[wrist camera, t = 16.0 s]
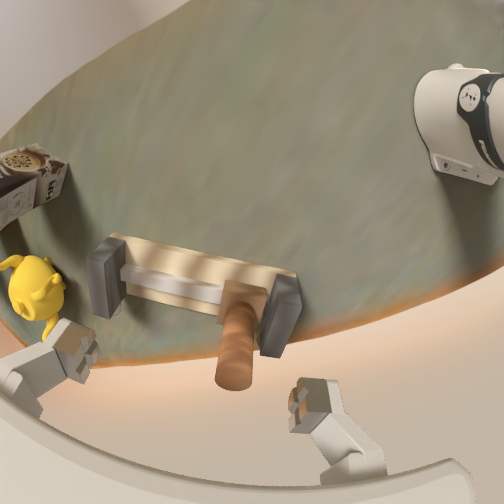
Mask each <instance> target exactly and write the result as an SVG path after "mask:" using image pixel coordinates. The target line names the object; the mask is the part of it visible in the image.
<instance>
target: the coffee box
mask: <svg viewBox="0 0 504 504" xmlns="http://www.w3.org/2000/svg"><path fill="white" fill-rule="evenodd" d="M67 167H68V163H67V162H66V161H64V160H63V159H61V158H59V157H58V156H56V155H55V154H53V153H52V152H50V151H48V150H47V149H45V148H44V147H42V146H41V145H39V144H38V143H35V144H32V145H28V146H24V147H20V148H17V149H14V150H10V151H7V152H4V153H1V154H0V228H2V227H3V226H5V225H7V224H8V223H10V222H11V221H13V220H15V219H16V218H18V217H20V216H22V215H23V214H25V213H27V212H29V211H31V210H32V209H34V208H36V207H38V206H40V205H41V204H43V203H45V202H47V201H49V200H51V199H53V198H55V197H57V196H59V195H60V191H61V188H62V184H63V181H64V177H65V174H66V171H67Z"/></svg>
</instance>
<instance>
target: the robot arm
mask: <svg viewBox="0 0 504 504" xmlns="http://www.w3.org/2000/svg"><path fill="white" fill-rule="evenodd" d="M414 113H415V119H416V123H417V126H418V129H419V132H420V134H421V136H422V138H423V140H424V142H425V143H426V145H427V147H428V149H429V153H430V158H431V163H432V166H433V168H434V169H435V170H436V171H439V172H443V173H447V174H451V175H455V176H459V177H462V178H466V179H470V180H473V181H477V182H480V183H483V184H487V185H493V184H494V183H495V182H496V180H497V179H498V177H501V178H503V179H504V74H501V73H489V71H487V70H485V69H469V68H464V67H463V66H462V65H461V64H452V65H451V66H449V67H448V68H447V69H444V70H434V71H431V72H429V73H427V74H426V75H425V76H424V77H423V78H422V79H421V80H420V82H419V84H418V86H417V89H416V92H415V97H414ZM444 164H445V167H444ZM95 337H96V334H95V331H94V330H92V329H89V328H87V327H84V326H82V325H80V324H77V323H75V322H73V321H70V320H68V319H65V318H62V319H61V320H60V321H59V322H58V323H57V324H56V326H55V327H54V328H53V330H52V331H51V332H50V334H49V335H48V336H47V338H46V339H45V340H44V342H43V343H41V342H39V343H36V344H34V345H32V346H29V347H27V348H25V349H22V350H20V351H18V352H16V353H13V354H11V355H9V356H6V357H4V358H2V359H0V504H478V501H477V496H476V490H475V485H474V481H473V478H472V476H471V474H470V472H469V471H467V469H466V468H464V467H463V466H462V465H461V464H460V463H459V462H457V461H456V460H454V459H452V458H448V459H444V460H441V461H439V462H436V463H433V464H430V465H426V466H423V467H420V468H416V469H413V470H409V471H405V472H402V473H398V474H393V475H389V476H388V475H387V469H386V464H385V460H384V456H383V451H382V449H381V448H380V447H379V446H378V445H377V443H375V441H374V440H373V439H372V438H371V437H370V436H369V435H368V434H367V433H366V432H365V431H364V430H363V429H362V428H361V427H360V426H359V425H358V424H357V422H355V420H354V419H353V418H352V417H351V416H350V415H349V414H348V413H345V411H344V407H343V402H342V397H341V393H340V388H339V384H338V382H337V381H336V380H324V379H314V378H302V377H301V378H299V380H298V381H297V387H295V388H293V389H292V391H291V393H290V396H289V401H288V410H289V411H290V412H291V413H292V415H291V417H290V418H289V429H290V433H305V434H309V435H310V437H311V438H312V439H313V441H314V442H315V444H316V445H317V447H318V448H319V450H320V451H321V453H322V454H323V456H324V457H325V458H326V460H327V461H328V463H329V464H330V466H331V467H330V468H329V469H327V470H326V471H324V472H323V473H321V475H320V482H321V485H318V486H287V487H286V486H257V485H244V484H234V483H224V482H217V481H210V480H205V479H199V478H194V477H188V476H184V475H179V474H175V473H171V472H167V471H162V470H159V469H155V468H152V467H148V466H145V465H141V464H138V463H135V462H132V461H129V460H126V459H124V458H120V457H118V456H115V455H113V454H110V453H107V452H105V451H102V450H100V449H98V448H95V447H93V446H91V445H88V444H86V443H84V442H82V441H79V440H77V439H75V438H73V437H71V436H69V435H67V434H65V433H63V432H61V431H59V430H58V429H56V428H54V427H52V426H50V425H48V424H47V423H45V422H43V421H42V420H40V419H39V417H40V415H41V413H42V411H43V408H42V406H41V404H40V403H39V401H38V400H37V399H36V398H38V397H39V396H41V395H42V394H44V393H46V392H47V391H49V390H50V389H52V388H53V387H55V386H56V385H58V384H59V383H61V382H62V381H64V380H65V379H67V378H70V379H72V380H74V381H77V382H79V383H82V384H84V383H85V381H86V379H87V377H88V376H89V374H90V370H89V367H91V366H93V365H94V364H95V362H96V360H97V358H98V354H99V347H98V343H97V342H96V341H95V340H94V339H95Z"/></svg>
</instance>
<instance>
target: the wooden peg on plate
mask: <svg viewBox="0 0 504 504" xmlns="http://www.w3.org/2000/svg"><path fill="white" fill-rule="evenodd" d="M266 300H267V294H266V292H265V288H264V287H259V286H254V285H249V284H244V283H240V282H235V281H230V280H225V283H224V287H223V292H222V297H221V302H220V307H219V312H218V317H217V322H216V324H221V325H224V326H223V332H222V338H221V344H220V350H219V356H218V363H217V368H216V375H215V382H216V383H217V385H218V386H220V387H221V388H223V389H226V390H230V391H242V390H245V389H247V388H249V387H250V386H251V384H252V368H253V344H254V331H257V328H258V325H259V322H260V319H261V316H262V313H263V310H264V307H265V304H266Z"/></svg>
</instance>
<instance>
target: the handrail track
mask: <svg viewBox="0 0 504 504" xmlns="http://www.w3.org/2000/svg"><path fill="white" fill-rule="evenodd" d="M86 267H87V275H88V283H89V291H90V297H91V304H92V309H93V314H94V315H97V316H100V317H103V318H106V319H109V320H110V318H111V317H112V316H115V315H117V314H118V313H119V312H120V311H121V301H122V300H123V298H124V297H125V295H126V294H131V295H134V296H138V297H142V298H146V299H149V300H153V301H157V302H161V303H165V304H169V305H173V306H177V307H181V308H186V309H190V310H194V311H199V312H203V313H208V314H212V315H217V316H218V312H219V307H220V302H221V297H222V292H223V287H224V283H225V280H230V281H235V282H240V283H244V284H249V285H254V286H259V287H264V288H265V292H266V294H267V300H266V304H265V307H264V310H263V313H262V316H261V319H260V322H259V324H260V336H259V337H258V338H257V341H256V346H257V348H258V349H259V350H260V355H261V356H267V357H274V358H280V357H281V355H282V353H283V351H284V348H285V346H286V344H287V342H288V339H289V337H290V335H291V333H292V330H293V328H294V326H295V323H296V321H297V319H298V316H299V314H300V312H301V309H302V303H301V297H300V292H299V287H298V282H297V277H296V272H292V271H287V270H283V269H278V268H273V267H268V266H263V265H259V264H254V263H249V262H244V261H240V260H235V259H230V258H226V257H221V256H216V255H212V254H207V253H202V252H198V251H193V250H189V249H184V248H180V247H175V246H171V245H166V244H161V243H157V242H152V241H148V240H144V239H139V238H135V237H130V236H126V235H121V234H117V233H112V234H111V235H110V236H109V237H108V238H107V239H106V240H104V241H103V242H102V243H101V244H100V245H99V246H98V247H97V248H96V249H95V250H94V251H93V252H92V253H90V254H89V255H88V256H87V257H86Z"/></svg>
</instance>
